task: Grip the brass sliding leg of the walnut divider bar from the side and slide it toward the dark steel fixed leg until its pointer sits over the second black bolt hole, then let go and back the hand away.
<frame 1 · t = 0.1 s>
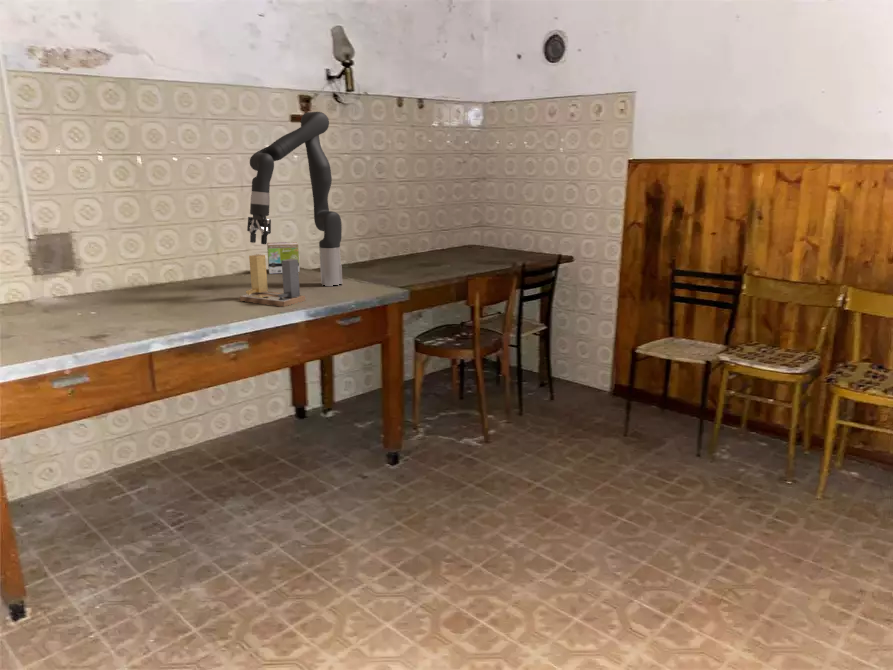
hand: (258, 243, 278), 22 cm above the table, tool pointing down, fingers open, 8 cm apart
sliding leg: (254, 274, 277), point 10 cm above the table, slide at -9.0 cm
tea box: (284, 272, 343), on the table
divider base: (277, 299, 278), on the table
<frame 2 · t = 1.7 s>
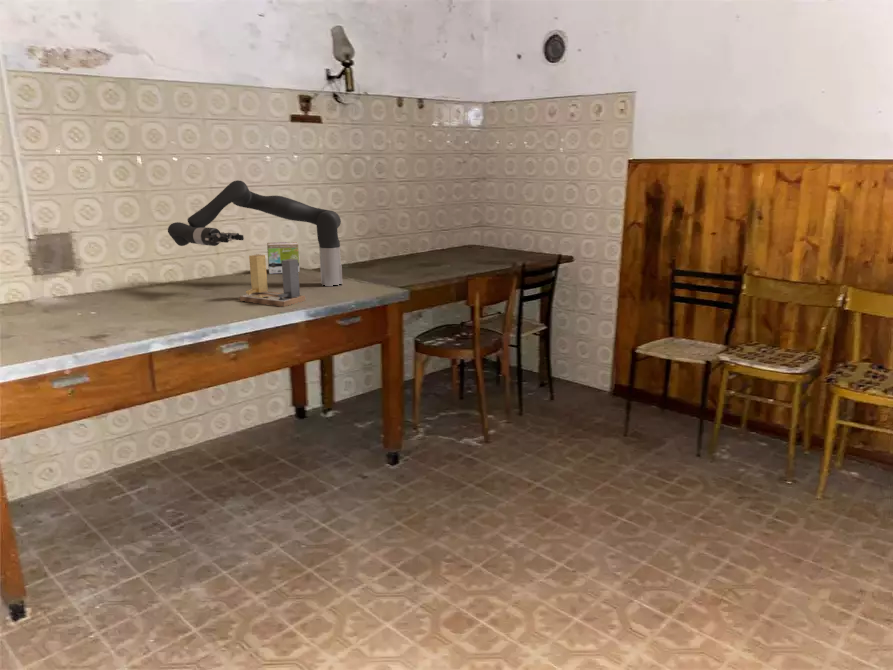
hand: (235, 238, 280), 24 cm above the table, tool horizontal, fingers open, 8 cm apart
nothing on the table moved.
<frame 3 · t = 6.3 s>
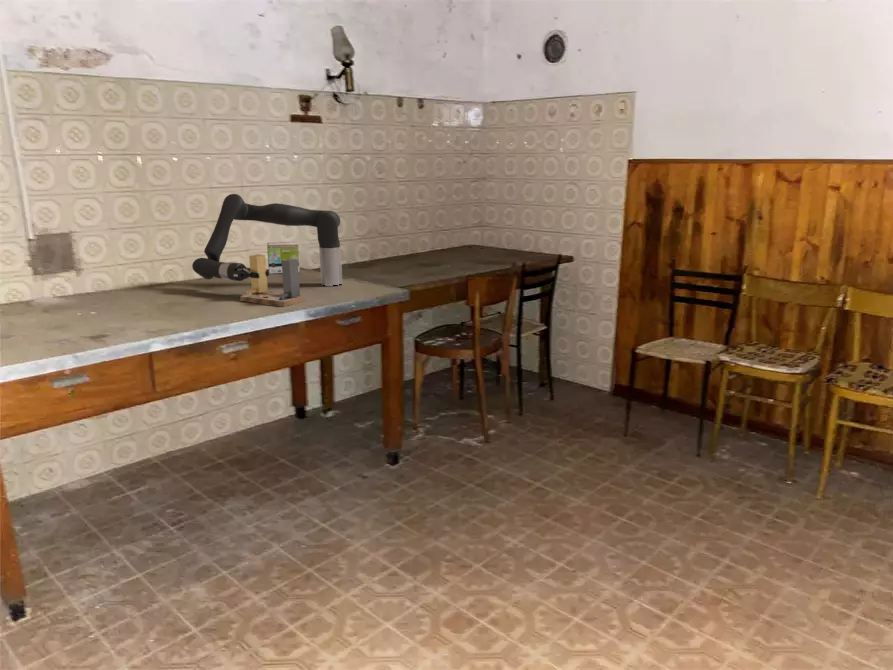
hand: (263, 274, 278), 10 cm above the table, tool horizontal, fingers closed on sliding leg, 5 cm apart
sliding leg: (254, 274, 277), point 10 cm above the table, slide at -9.0 cm, touching gripper
everything else where it was.
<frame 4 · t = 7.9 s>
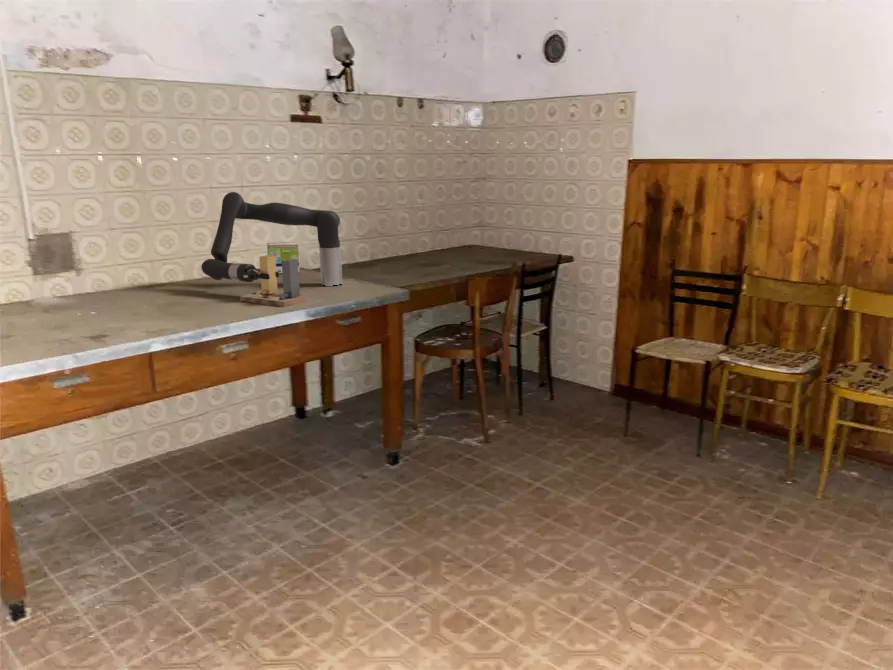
hand: (273, 275, 276), 10 cm above the table, tool horizontal, fingers closed on sliding leg, 5 cm apart
sliding leg: (264, 275, 275), point 10 cm above the table, slide at -3.5 cm, touching gripper
everything else where it was.
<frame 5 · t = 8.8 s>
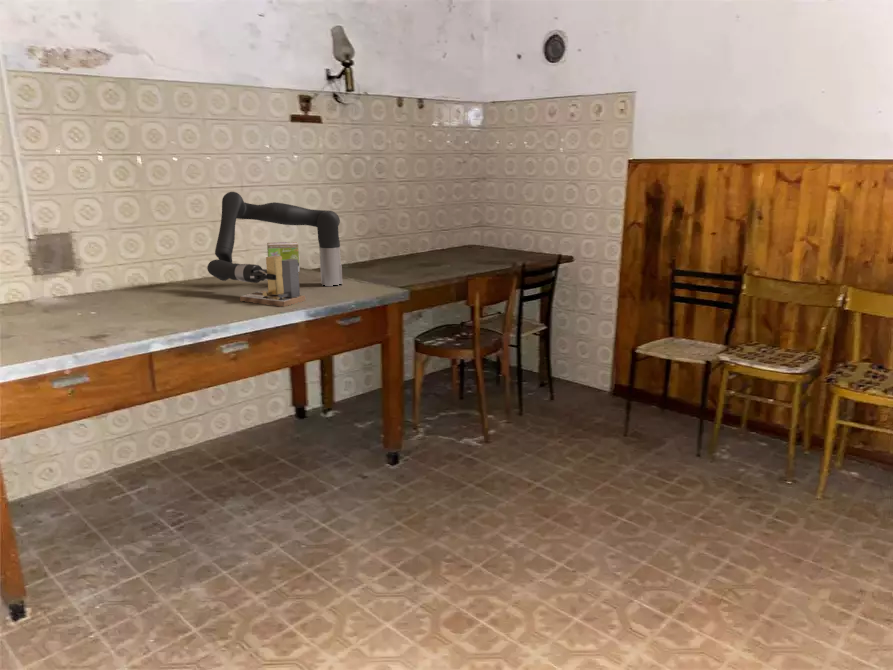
hand: (280, 276, 274), 10 cm above the table, tool horizontal, fingers closed on sliding leg, 5 cm apart
sliding leg: (271, 276, 273), point 10 cm above the table, slide at -0.1 cm, touching gripper
everything else where it was.
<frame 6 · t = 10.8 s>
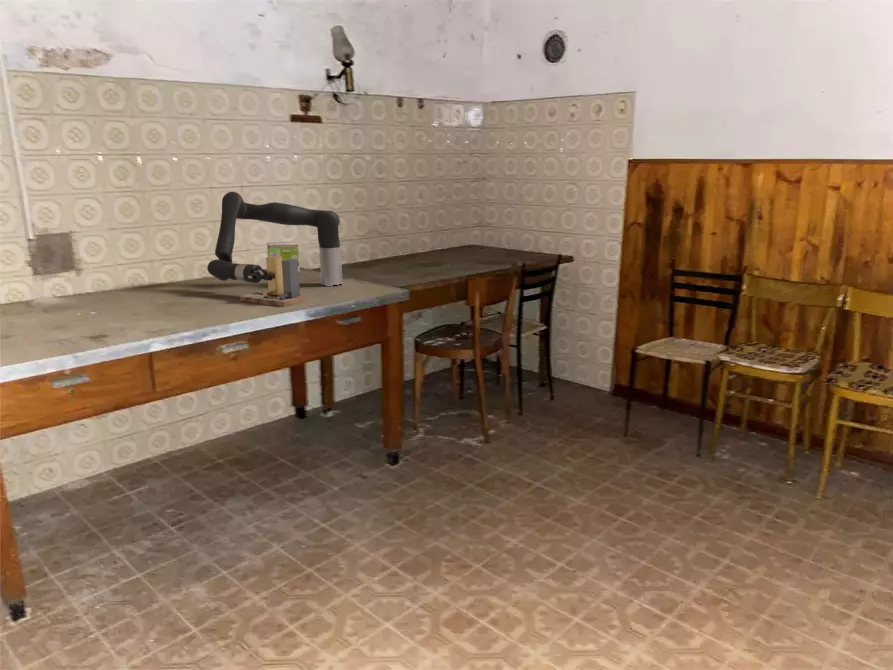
hand: (278, 276, 274), 10 cm above the table, tool horizontal, fingers open, 8 cm apart
sliding leg: (271, 276, 273), point 10 cm above the table, slide at 0.0 cm
everything else where it was.
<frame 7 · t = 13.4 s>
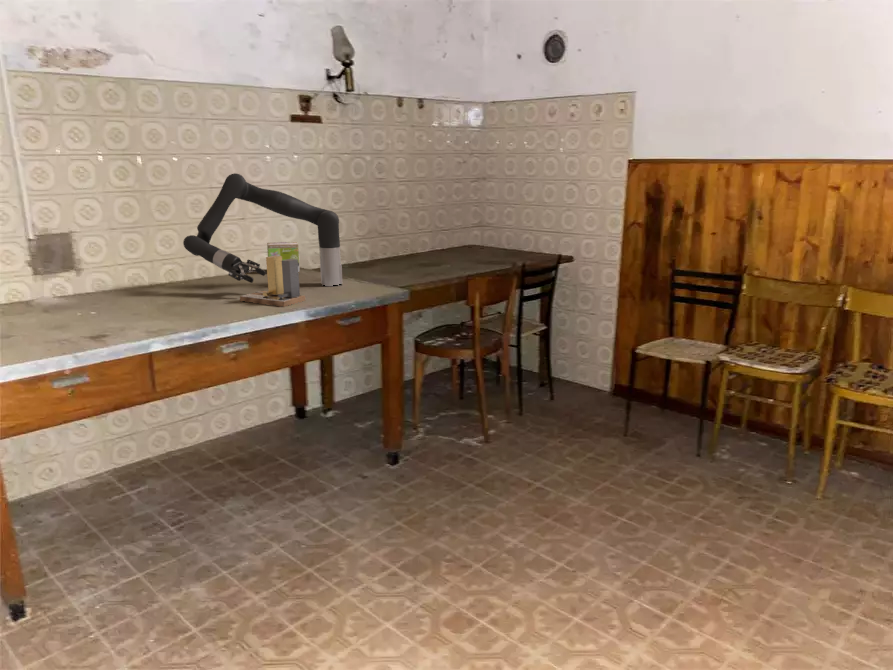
hand: (259, 277, 283), 8 cm above the table, tool tilted 70°, fingers open, 8 cm apart
nothing on the table moved.
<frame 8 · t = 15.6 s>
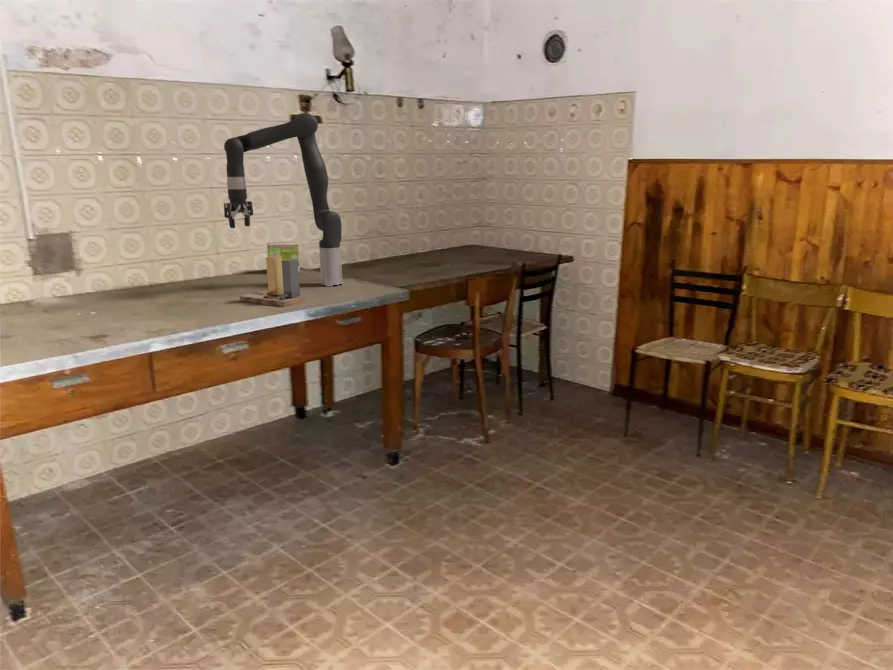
hand: (240, 227, 285), 28 cm above the table, tool pointing down, fingers open, 8 cm apart
nothing on the table moved.
at the end: sliding leg slide at 0.0 cm; the gripper is holding nothing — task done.
